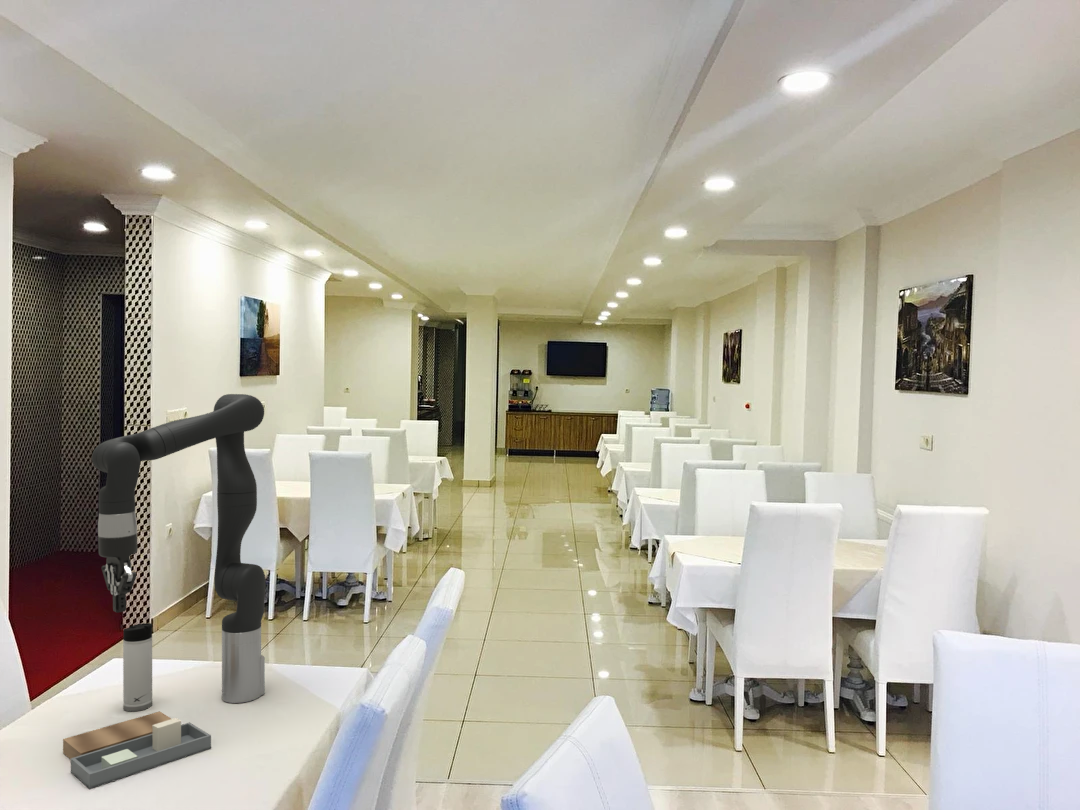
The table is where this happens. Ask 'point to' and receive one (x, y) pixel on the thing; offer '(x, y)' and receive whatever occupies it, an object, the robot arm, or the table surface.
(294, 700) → the table surface
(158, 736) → the tile
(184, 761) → the table surface
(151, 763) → the tray
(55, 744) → the table surface
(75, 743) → the walnut board
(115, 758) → the tile
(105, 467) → the robot arm
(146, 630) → the travel mug
